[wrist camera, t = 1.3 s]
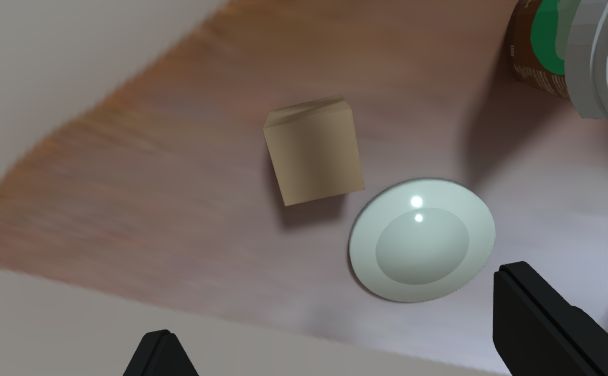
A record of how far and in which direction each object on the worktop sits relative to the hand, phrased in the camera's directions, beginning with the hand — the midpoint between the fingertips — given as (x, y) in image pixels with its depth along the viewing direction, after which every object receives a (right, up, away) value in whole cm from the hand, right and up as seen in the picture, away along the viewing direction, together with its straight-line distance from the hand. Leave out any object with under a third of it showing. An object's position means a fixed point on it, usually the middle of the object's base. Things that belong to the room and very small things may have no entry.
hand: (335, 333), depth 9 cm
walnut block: (0, +9, +18) cm, 20 cm away
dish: (+11, -1, +23) cm, 25 cm away
